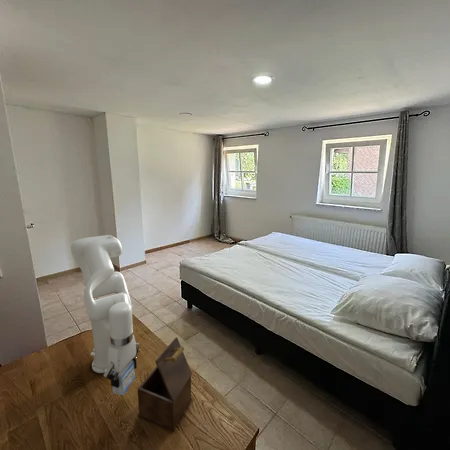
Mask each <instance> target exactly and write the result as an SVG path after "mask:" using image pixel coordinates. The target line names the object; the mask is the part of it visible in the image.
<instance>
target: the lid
mask: <svg viewBox="0 0 450 450" xmlns="http://www.w3.org/2000/svg"><path fill="white" fill-rule="evenodd" d="M184 351H185V347H184V346H183V345H181V343H180V341H179V338H178V337H176V336H175V337H174V339H172V341H171V342H170V343H169V344H168V346H166V347H165V349H164V350H163V351H162V352H161V353H160V355H159V356H158V357H157V358H156V359H155V361H154V362H155V364H156V366H157V367H158V369H159V372H160V374H161V377H162V379H163V381H164V384H165V386H166V389H167V391H168V394H169V396H170V398H171V401H172V402H174V401H175V400H176V398H177V396H178V395H179V393H180V392H181V390H182V389H183V387H184V385H185V384H186V382H187V381H188V379H189V377H190V376H191V377H192V375H193V373H192V370H191V368H190V366H189V362H188V360H187V358H186V356H185V353H184Z"/></svg>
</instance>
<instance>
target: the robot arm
mask: <svg viewBox="0 0 450 450" xmlns="http://www.w3.org/2000/svg"><path fill="white" fill-rule="evenodd" d="M70 252H71V256H72V258H73V260H74V261H75V263H76V265H77V266H78V267H79V269H80V271H81V274H82V278H83V281H84V282H83V283H84V286H85V287H84V290H83V302H84V305H85V310H86V313H87V316H88V319H89V322H90V326H91V332H92V342H93V348H92V352H90V354H89V355H90V356H91V357H93V360H92V362H91V369H92V371H94V372H95V373H98V374H103V377H104V378H105V379H107V380H110V385H111V387H112V386H113V387H116V388H118V387H119V378H118V374H119V372H120V371H121V370H122V369H123V368H124V367H125V366H126V365H127V364H128V363H129V362H130V361H131V360H132V361H134V370H136V369H137V359H138V354H139V351H140V350H139V349H140V346H141V343H139V342H136V338H135V335H134V326H133V304H132V300H131V296H130V293H129V289H128V286H127V283H126V282H127V281H126V280H125V277H124V275H123V274H122V273H121V272H120V271H115V267H114V265H113V263H112V258H117V257H120V256H121V255H122V254H123V246H122V244H121V242H120V240H119V239H118V238H117V237H115V236H113V235H111V234H105V235H96V236H90V237H83V238H79V239H75V240H74V241H72V243H71V244H70ZM111 294H112V295H111ZM114 371H115V372H116V373H115V375H113V372H114Z"/></svg>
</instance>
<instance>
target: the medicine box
mask: <svg viewBox="0 0 450 450" xmlns="http://www.w3.org/2000/svg"><path fill="white" fill-rule="evenodd" d="M135 371H136V369H134V361H132V360H131V361H130V362H129V363H128V364H127V365H126V366H125V367H124V368H123V369H122V370H121V371H120V372H119V374H118V378H119V387H118V388H116V387H113V386H111V387H112V394H114V395H118V396H125V394H126V393H127V391H128V389H129V388H130V387H131V385H132V383H133V382H134V381H135V379H136V373H135ZM115 373H116V372H115V371H114V372H113V375H115Z"/></svg>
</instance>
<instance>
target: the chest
mask: <svg viewBox="0 0 450 450" xmlns="http://www.w3.org/2000/svg"><path fill="white" fill-rule="evenodd" d="M191 400H192V375H191V376H190V377H189V379H188V381H187V382H186V384H185V385H184V387H183V389H182V390H181V392H180V393H179V395H178V396H177V398H176V400H175V401H174V402H172V401H171V398H170V396H169V394H168V391H167V389H166V386H165V384H164V381H163V379H162V377H161V374H160V372H159V369H158V367H157V365H156V366H155V367H154V368H153V370H152V371H151V372H150V373H149V374H148V376H147V377H146V378H145V379H144V380H143V381H142V383H141V384H140V385H139V386H138V387H137V401H138V416H140V417H142V418H145V419H147V420H149V421H151V422H154V423H156V424H158V425H159V426H162V427H164V428H167V429H168V430H171V431H175V429H176V427H177V425H178V424H179V422H180V420H181V418H182V416H183V414H184V413H185V411H186V410H187V408H188V406H189V405H190V402H191Z"/></svg>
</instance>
